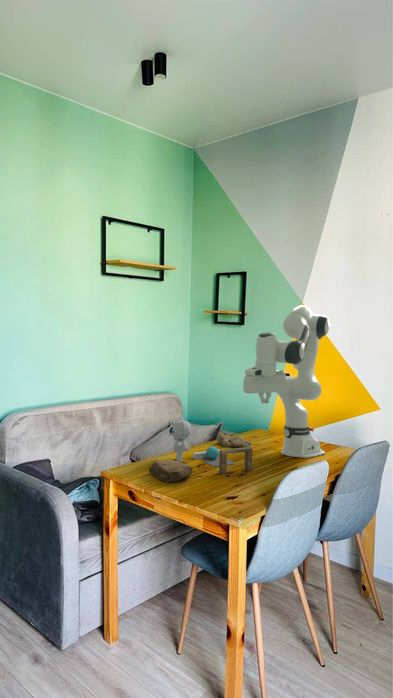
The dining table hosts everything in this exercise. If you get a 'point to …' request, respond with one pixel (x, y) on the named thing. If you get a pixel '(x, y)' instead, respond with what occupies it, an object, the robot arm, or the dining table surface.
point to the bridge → (237, 450)
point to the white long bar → (201, 455)
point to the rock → (170, 470)
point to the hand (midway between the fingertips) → (264, 403)
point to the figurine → (232, 441)
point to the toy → (180, 437)
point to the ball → (212, 452)
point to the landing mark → (216, 462)
